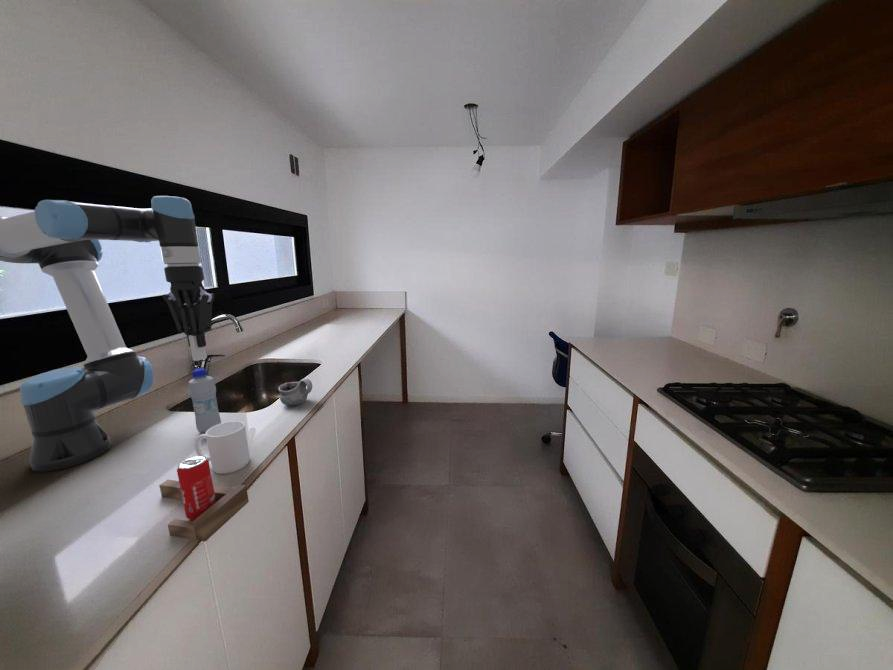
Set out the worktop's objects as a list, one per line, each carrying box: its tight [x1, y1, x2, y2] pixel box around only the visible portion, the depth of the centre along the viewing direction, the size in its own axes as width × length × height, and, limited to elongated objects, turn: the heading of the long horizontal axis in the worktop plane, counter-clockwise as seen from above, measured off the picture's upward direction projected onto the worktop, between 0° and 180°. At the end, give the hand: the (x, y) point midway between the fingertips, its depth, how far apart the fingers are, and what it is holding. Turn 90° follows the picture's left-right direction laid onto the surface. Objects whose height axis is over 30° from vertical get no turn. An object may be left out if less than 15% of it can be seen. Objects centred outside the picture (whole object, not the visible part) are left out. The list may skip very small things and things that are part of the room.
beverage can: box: [176, 455, 216, 521], centre depth 71 cm, size 5×5×12 cm
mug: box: [277, 377, 313, 407], centre depth 126 cm, size 10×12×10 cm
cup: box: [194, 420, 251, 475], centre depth 89 cm, size 8×12×10 cm
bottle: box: [188, 368, 222, 435], centre depth 106 cm, size 7×7×20 cm
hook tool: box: [158, 479, 249, 542], centre depth 72 cm, size 20×11×4 cm, turn 79°
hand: (200, 359), depth 90 cm, fingers closed
